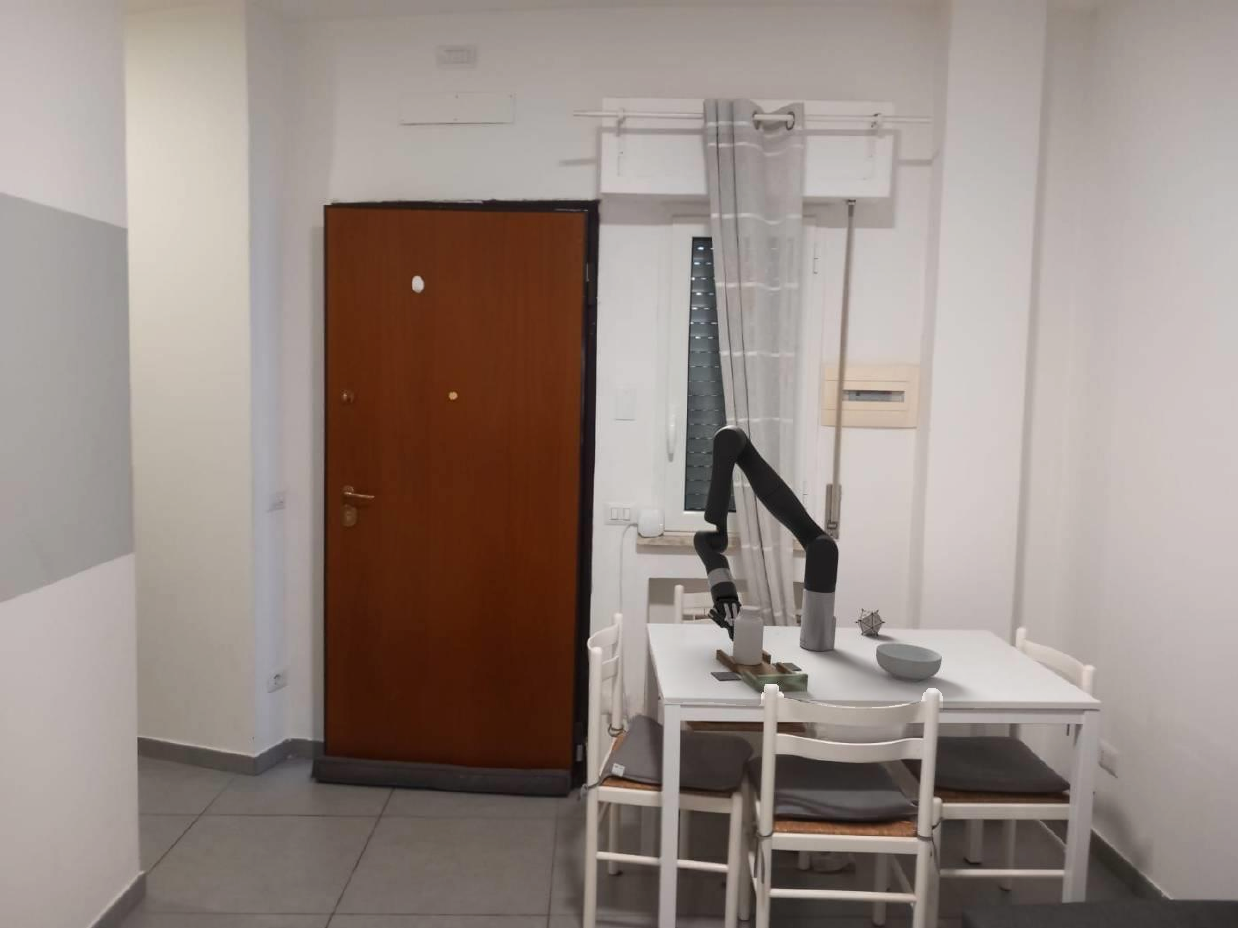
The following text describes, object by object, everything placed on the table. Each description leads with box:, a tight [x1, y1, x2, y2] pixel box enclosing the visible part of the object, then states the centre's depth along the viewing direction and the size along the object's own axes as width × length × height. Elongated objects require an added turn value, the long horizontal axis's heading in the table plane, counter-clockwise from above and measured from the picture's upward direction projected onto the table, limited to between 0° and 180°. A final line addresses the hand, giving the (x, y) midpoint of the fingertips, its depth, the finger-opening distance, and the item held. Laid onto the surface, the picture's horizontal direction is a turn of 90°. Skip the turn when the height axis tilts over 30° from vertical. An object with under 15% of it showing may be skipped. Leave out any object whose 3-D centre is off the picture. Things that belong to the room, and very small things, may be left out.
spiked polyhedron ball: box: [854, 608, 886, 637], centre depth 278 cm, size 9×8×10 cm
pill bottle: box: [732, 605, 765, 665], centre depth 239 cm, size 8×8×15 cm
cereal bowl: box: [875, 642, 943, 683], centre depth 235 cm, size 17×17×7 cm
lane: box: [710, 649, 809, 694], centre depth 231 cm, size 26×28×4 cm
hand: (735, 639), depth 247 cm, fingers closed
